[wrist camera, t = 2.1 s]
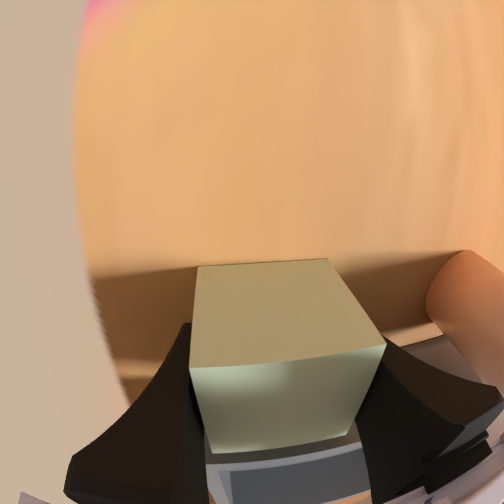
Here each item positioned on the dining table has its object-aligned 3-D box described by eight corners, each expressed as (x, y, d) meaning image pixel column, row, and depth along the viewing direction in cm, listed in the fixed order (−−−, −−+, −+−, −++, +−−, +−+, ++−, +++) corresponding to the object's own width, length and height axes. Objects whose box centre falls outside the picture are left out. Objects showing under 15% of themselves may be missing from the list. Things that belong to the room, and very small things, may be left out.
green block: (210, 359, 13) (212, 453, 8) (197, 266, 11) (189, 368, 6) (313, 349, 13) (346, 434, 9) (326, 258, 11) (386, 344, 7)
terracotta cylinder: (433, 332, 14) (494, 413, 8) (416, 287, 13) (501, 384, 6) (483, 286, 14) (551, 351, 7) (474, 233, 12) (568, 302, 5)
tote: (220, 468, 19) (224, 518, 15) (196, 375, 13) (195, 464, 9) (404, 431, 21) (422, 469, 16) (467, 327, 15) (507, 373, 10)
